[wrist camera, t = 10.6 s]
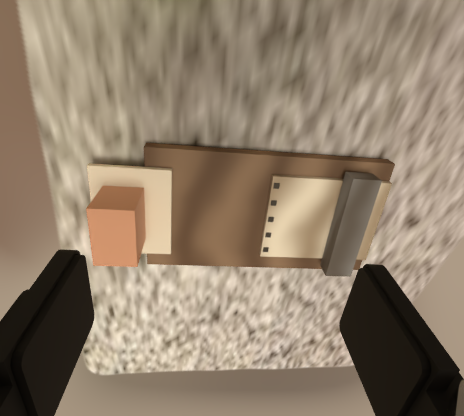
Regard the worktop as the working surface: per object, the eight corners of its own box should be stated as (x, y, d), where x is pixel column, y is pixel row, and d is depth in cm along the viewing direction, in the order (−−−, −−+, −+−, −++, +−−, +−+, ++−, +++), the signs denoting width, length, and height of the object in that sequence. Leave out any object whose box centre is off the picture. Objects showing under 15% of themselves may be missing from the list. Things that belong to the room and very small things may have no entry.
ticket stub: (172, 168, 32) (166, 191, 27) (171, 251, 36) (166, 283, 31) (88, 163, 31) (66, 186, 26) (98, 248, 35) (81, 282, 31)
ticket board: (387, 159, 35) (409, 172, 31) (353, 262, 41) (368, 283, 38) (146, 142, 32) (139, 155, 28) (149, 256, 38) (143, 278, 35)
